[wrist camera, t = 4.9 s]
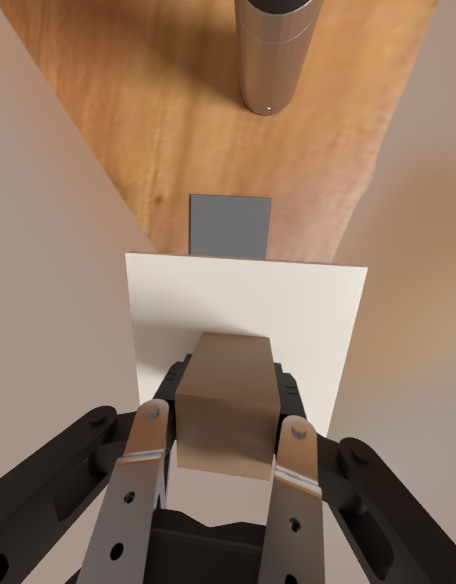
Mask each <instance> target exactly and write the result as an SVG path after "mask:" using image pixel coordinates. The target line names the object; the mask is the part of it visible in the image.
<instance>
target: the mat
mask: <svg viewBox="0 0 456 584" xmlns="http://www.w3.org/2000/svg"><path fill="white" fill-rule="evenodd" d="M271 199H272V198H253V197H232V196H211V195H191V255H204V256H221V257H238V258H254V259H265V255H266V246H267V236H268V227H269V218H270V208H271Z"/></svg>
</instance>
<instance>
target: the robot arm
mask: <svg viewBox="0 0 456 584" xmlns="http://www.w3.org/2000/svg"><path fill="white" fill-rule="evenodd" d="M323 1H324V0H234V5H235V19H236V34H237V48H238V62H239V78H240V89H241V95H242V98H243V100H244V102H245V104H246V105H247V106H248V108H249V109H250V110H252V111H253V112H254V113H257V114H259V115H272V114H275V113H277V112H279V111H280V110H282V109H283V108H284V107H285V106H286V105H287V104H288V103H289V102H290V100H291V99H292V97H293V95H294V92H295V89H296V86H297V83H298V80H299V77H300V74H301V71H302V68H303V64H304V61H305V58H306V55H307V52H308V48H309V45H310V42H311V39H312V36H313V32H314V29H315V26H316V23H317V20H318V17H319V13H320V10H321V7H322V4H323ZM192 355H193V354H187V355H186V357H185V359H184V361H183V362H180V361H177V362H176V363H174V364H173V365H172V366H171V367H170V369H169V370H168V372H167V374H166V376H165V377H164V380H163V381H162V382H161V384H160V386H159V388H158V389H157V391H156V393H155V395H154V396H153V398H152V400H149V401H146V402H145V403H143V404H142V405H141V406H140V407H139V408H138V410H137V411H135V412H131V413H125V414H118V415H117V412H116V409H115V408H113V407H111V406H100V407H97V408H95V409H93V410H91V411H89V412H88V413H86V414H85V415H84V416H82V417H81V418H80V419H79V420H77V421H76V422H75V423H73V424H72V425H71V426H69V427H68V428H66V429H65V430H64V431H62V432H61V433H60V434H59V435H57V436H56V437H55V438H53V439H52V440H50V441H49V442H48V443H46V444H45V445H44V446H43V447H41V448H40V449H39V450H37V451H36V452H35V453H33V454H32V455H31V456H29V457H28V458H27V459H25V460H24V461H23V462H21V463H20V464H19V465H17V466H16V467H15V468H13V469H12V470H11V471H9V472H8V473H7V474H5V475H4V476H3V477H1V478H0V584H21V583H22V582H23V580H24V579H25V578H26V577H27V576H28V575H29V574H30V572H31V571H32V570H33V569H34V568H35V567H36V566H37V564H38V563H39V562H40V561H41V560H42V559H43V558H44V556H45V555H46V554H47V553H48V552H49V551H50V550H51V548H52V547H53V546H54V545H55V544H56V543H57V542H58V540H59V539H60V538H61V537H62V536H63V535H64V534H65V532H66V531H67V530H68V529H69V528H70V527H71V526H72V524H73V523H74V522H75V521H76V520H77V519H78V518H79V516H80V515H81V514H82V513H83V512H84V511H85V510H86V508H87V507H88V506H89V505H90V504H91V503H92V502H93V500H94V499H95V498H96V497H97V496H98V495H99V494H100V492H101V491H102V490H103V489H104V488H105V486H106V485H107V484H108V483H109V484H108V487H107V490H106V493H105V496H104V499H103V502H102V505H101V508H100V512H99V515H98V518H97V521H96V524H95V527H94V530H93V533H92V536H91V539H90V542H89V545H88V549H87V551H86V555H85V558H84V561H83V564H82V567H81V568H80V569H79V570H78V571H77V572H76V573H75V574H74V575H73V576H72V577H71V578H70V579H69V580H68V581H67V582H66V583H65V584H325V567H324V566H325V565H324V541H323V540H324V539H323V511H322V500H323V501H325V502H327V503H328V505H329V507H330V509H331V511H332V513H333V515H334V516H335V518H336V520H337V522H338V524H339V526H340V528H341V530H342V531H343V533H344V535H345V537H346V539H347V541H348V543H349V545H350V546H351V548H352V550H353V552H354V554H355V556H356V557H357V559H358V561H359V563H360V565H361V567H362V569H363V571H364V572H365V574H366V576H367V578H368V580H369V582H370V584H456V545H455V543H454V542H453V541H452V540H451V539H450V538H449V537H448V535H447V534H446V533H445V532H444V531H443V530H442V529H441V527H440V526H439V525H438V524H437V523H436V522H435V520H434V519H433V518H432V517H431V516H430V515H429V513H428V512H427V511H426V510H425V509H424V508H423V507H422V505H421V504H420V503H419V502H418V501H417V500H416V499H415V497H414V496H413V495H412V494H411V493H410V492H409V490H408V489H407V488H406V487H405V486H404V485H403V483H402V482H401V481H400V480H399V479H398V478H397V477H396V475H395V474H394V473H393V472H392V471H391V470H390V468H389V467H388V466H387V465H386V464H385V463H384V462H383V460H382V459H381V458H380V457H379V456H378V455H377V454H376V452H375V451H374V450H373V449H372V448H371V447H370V446H368V445H367V444H366V443H364V442H362V441H361V440H358V439H355V438H351V437H347V438H344V439H342V440H341V441H340V443H337V442H335V441H332V440H330V439H327V438H325V437H323V436H322V435H320V434H318V433H317V432H316V430H315V428H314V427H313V425H312V424H311V423H310V422H309V421H308V420H307V417H306V414H305V410H304V407H303V403H302V400H301V396H300V393H299V390H298V386H297V383H296V380H295V379H294V377H293V376H292V375H291V374H290V373H283V370H282V366H281V363H276V362H274V368H275V374H276V380H277V386H278V392H279V398H280V404H281V408H280V415H279V422H278V428H277V435H276V441H275V448H274V454H275V457H276V466H275V472H274V478H273V485H272V491H271V498H270V504H269V511H268V517H267V524H266V526H264V525H258V524H252V523H246V522H238V523H232V524H227V525H221V526H216V527H207V526H205V525H203V524H201V523H200V522H198V521H196V520H194V519H193V518H191V517H189V516H187V515H186V514H184V513H182V512H180V511H174V510H168V509H166V505H167V504H166V503H167V492H168V482H169V481H168V480H169V470H170V460H171V449H172V446H173V443H174V440H177V438H176V411H175V392H176V390H177V387H178V385H179V383H180V381H181V379H182V377H183V374H184V372H185V370H186V368H187V366H188V363H189V361H190V359H191V357H192ZM85 459H86V460H85ZM69 474H70V475H69Z"/></svg>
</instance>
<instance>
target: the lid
mask: <svg viewBox="0 0 456 584" xmlns="http://www.w3.org/2000/svg"><path fill="white" fill-rule="evenodd" d="M125 256H126V266H127V276H128V286H129V296H130V307H131V316H132V327H133V337H134V347H135V357H136V367H137V377H138V386H139V397H140V406H141V405H142V404H143V403H145V402H146V401H149V400H152V398H153V396H154V395H155V393H156V391H157V389H158V388H159V386H160V384H161V382H162V381H163V380H164V377H165V376H166V374H167V372H168V370H169V369H170V367H171V366H172V365H173V364H174V363H176V362H177V361H180V362H183V361H184V359H185V357H186V355H187V354H193V355H192V357H191V359H190V361H189V363H188V366H187V368H186V370H185V372H184V374H183V377H182V379H181V381H180V383H179V385H178V387H177V390H176V392H175V411H176V438H177V463H178V464H177V465H178V467H181V468H188V469H194V470H202V471H208V472H214V473H221V474H228V475H234V476H241V477H248V478H254V479H261V480H268V481H269V480H270V474H271V467H272V461H273V455H274V448H275V441H276V435H277V428H278V422H279V415H280V408H281V404H280V398H279V392H278V386H277V380H276V374H275V368H274V362H276V363H281V366H282V370H283V373H290V374H291V375H292V376H293V377H294V379H295V380H296V383H297V386H298V390H299V393H300V396H301V400H302V403H303V407H304V410H305V414H306V417H307V420H308V421H309V422H310V423H311V424H312V425H313V427H314V428H315V430H316V432H317V433H318V434H320V435H322V436H323V437H325V438H326V436H327V432H328V428H329V423H330V419H331V416H332V411H333V407H334V403H335V399H336V395H337V391H338V387H339V383H340V379H341V375H342V371H343V367H344V363H345V359H346V355H347V351H348V347H349V342H350V338H351V334H352V330H353V326H354V322H355V318H356V314H357V310H358V306H359V302H360V297H361V294H362V290H363V285H364V281H365V277H366V273H367V269H368V267H365V266H362V265H353V264H337V263H321V262H304V261H288V260H271V259H254V258H238V257H221V256H204V255H188V254H171V253H155V252H138V251H131V252H126V253H125Z"/></svg>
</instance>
